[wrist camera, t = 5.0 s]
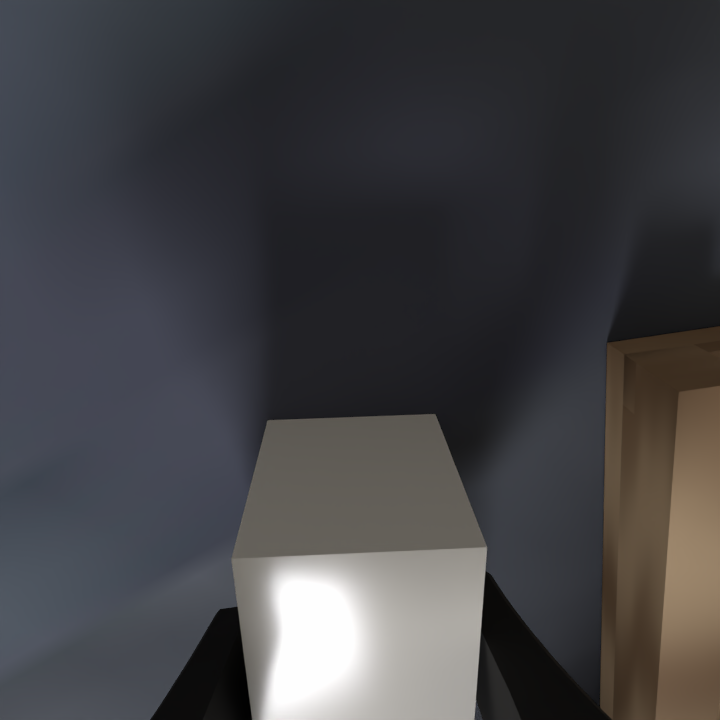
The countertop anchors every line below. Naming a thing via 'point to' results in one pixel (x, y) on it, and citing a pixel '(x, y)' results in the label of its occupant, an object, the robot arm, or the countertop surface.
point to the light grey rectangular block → (359, 573)
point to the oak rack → (662, 528)
